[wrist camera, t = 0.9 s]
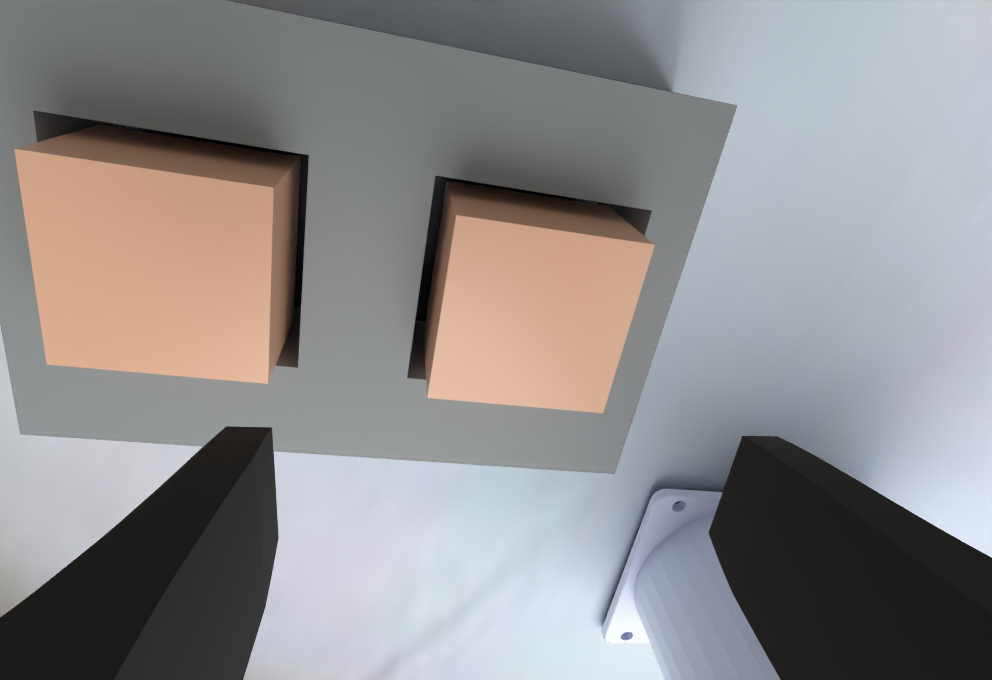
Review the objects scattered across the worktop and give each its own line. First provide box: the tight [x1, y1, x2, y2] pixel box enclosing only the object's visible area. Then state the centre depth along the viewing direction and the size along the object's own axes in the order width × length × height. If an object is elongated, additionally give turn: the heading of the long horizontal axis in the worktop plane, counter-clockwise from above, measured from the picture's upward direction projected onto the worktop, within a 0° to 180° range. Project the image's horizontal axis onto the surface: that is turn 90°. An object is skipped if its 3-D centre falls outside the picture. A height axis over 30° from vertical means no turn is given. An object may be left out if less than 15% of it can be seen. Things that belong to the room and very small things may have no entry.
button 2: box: [424, 181, 655, 413], centre depth 14 cm, size 4×4×3 cm
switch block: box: [0, 0, 737, 474], centre depth 15 cm, size 15×10×4 cm, turn 79°
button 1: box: [14, 125, 301, 384], centre depth 13 cm, size 4×4×3 cm
